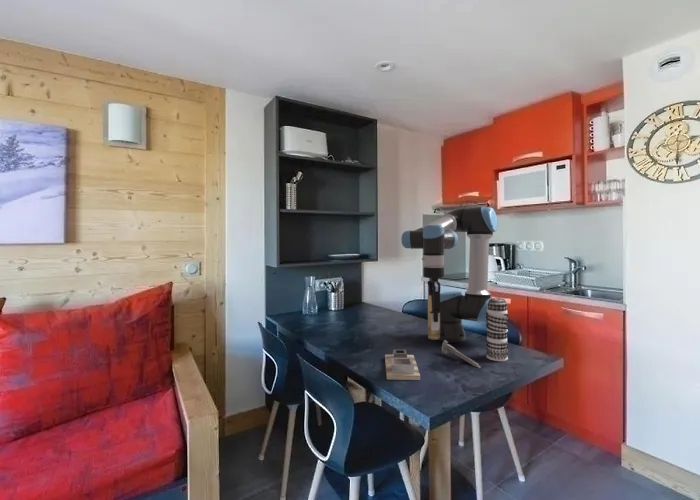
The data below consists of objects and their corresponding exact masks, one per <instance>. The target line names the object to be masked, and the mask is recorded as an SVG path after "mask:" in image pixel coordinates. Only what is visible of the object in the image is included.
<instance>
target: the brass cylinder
mask: <svg viewBox="0 0 700 500" xmlns="http://www.w3.org/2000/svg"><path fill="white" fill-rule="evenodd" d="M430 311H432V300H431V295H428V294H427V338H428V339H430V340H433V341H434V340H436V339H440V313H439V330H431V313H430ZM436 341H437V340H436Z"/></svg>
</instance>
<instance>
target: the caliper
mask: <svg viewBox="0 0 700 500" xmlns="http://www.w3.org/2000/svg"><path fill="white" fill-rule="evenodd" d="M441 353H442V354H444V355H448V354H449V353H450V354H452V355H455V356H457V357H459V358H460V359H462V360H464V361H465V362H466V363H468V364H470V365H471V366H473V367H475V368H478V369H481V368H482V366H480V365H479V363H478V362H476V361H475V360H473V359H471V358H470V357H468V356H466V355H465V354H463V353H461V352H460V351H459V350H457V349H456V348H455V347H454V346H452V345H451V344H449V342H448V341H447V342H446V340H444V342H443V341H442V345H441Z"/></svg>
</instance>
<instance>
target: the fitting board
mask: <svg viewBox="0 0 700 500" xmlns="http://www.w3.org/2000/svg"><path fill="white" fill-rule="evenodd" d="M392 350H393V351H392V354H385V355H384V361H385V374H386V375H385V376H386V380H389V381H391V380H394V381H396V380H397V381H399V380H400V381H407V380H408V381H420V380H421V374H420V371H419V368H418V364H417V361H416V358H415V356H414V354H408V353H407V352H408V351H407V349H392Z"/></svg>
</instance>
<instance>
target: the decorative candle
mask: <svg viewBox="0 0 700 500" xmlns="http://www.w3.org/2000/svg"><path fill="white" fill-rule="evenodd" d="M487 302H488V308H487V312H486V313H485V314H486V319H487V320H486V325H485V326H486V327H485V328H486V331H487V336H486V344H485V345H486V348H485V350H486V351H485V353H486V355H485V357H486V358H487V359H488V360H491V361H494V362H505V361H508V360H509V357H508V356H509V349H508V348H509V346H508V344H509V342H508V332H509V330H508V329H509V327H508V326H507V325H509V324H510V323H509V322H508V321H509V318H508V317H509V316H510V314H509V313H508V304H509V302H508V301H507V300H506V299H504V298H502V297H491V298H490V300H489V301H487Z"/></svg>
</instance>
